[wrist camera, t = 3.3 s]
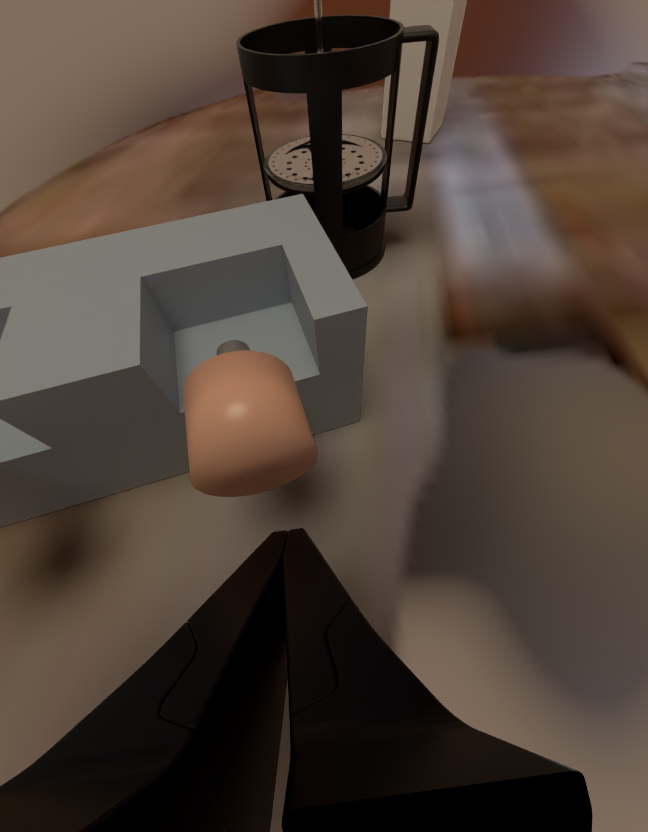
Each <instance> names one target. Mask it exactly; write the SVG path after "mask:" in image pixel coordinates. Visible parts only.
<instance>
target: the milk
mask: <svg viewBox="0 0 648 832" xmlns="http://www.w3.org/2000/svg"><path fill="white" fill-rule="evenodd" d="M466 2H467V0H391V6H390V19H394V20H396V21H399V22H400V23H402V24H403V26H404V27H409V26H419V25H430V26H432V27H433V28H434V29H435V30H436V31H437V32H438V33H439V45H438V52H437V58H436V64H435V70H434V76H433V82H432V89H431V95H430V101H429V107H428V113H427V119H426V125H425V132H424V138H423V143H427V144H428V143H430V141H431V140H432V138H433V137H434V136H435V134H436V133H437V131H438V130H439V129H440V127H441V126H442V124H443V119H444V114H445V109H446V104H447V99H448V94H449V89H450V84H451V79H452V73H453V68H454V63H455V58H456V52H457V48H458V43H459V38H460V32H461V28H462V23H463V17H464V13H465V8H466ZM425 46H426V41H422V42H411V43H403V44H402V55H401V65H400V75H399V85H398V95H397V105H396V115H395V125H394V135H393V140H400V141H409V142H412V139H413V132H414V125H415V118H416V111H417V103H418V96H419V89H420V82H421V75H422V68H423V61H424V53H425ZM390 80H391V75H390V76H388V77H386V78H385V88H384V101H383V115H382V129H381V138H382V139H386V128H387V116H388V104H389V92H390Z"/></svg>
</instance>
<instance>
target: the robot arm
mask: <svg viewBox="0 0 648 832" xmlns="http://www.w3.org/2000/svg"><path fill="white" fill-rule="evenodd" d="M287 678H288V694H289V716H290V766H289V773H288V780H287V788H286V795H285V802H284V809H283V816H282V830H283V832H592V807H591V803H590V798H589V795H588V790H587V786H586V782H585V778H584V776H583V774H582V773H581V772H579V771H577V770H574V769H572V768H569V767H567V766H564V765H562V764H560V763H557V762H555V761H552V760H550V759H547V758H545V757H542V756H540V755H538V754H535V753H532V752H530V751H528V750H525V749H522V748H520V747H518V746H515V745H513V744H510V743H508V742H506V741H503V740H501V739H498V738H496V737H493V736H491V735H488V734H486V733H484V732H481V731H479V730H476V729H474V728H472V727H470V726H468V725H467V724H465V723H464V722H462V721H461V720H460V719H458V718H457V717H456V716H454V715H453V714H452V713H451V712H450V711H448V709H446V708H445V707H444V706H443V705H442V704H441V703H440V702H439V701H438V700H437V699H436V697H435V696H434V695H433V694H432V693H431V692H430V691H429V690H428V689H427V688H426V687H425V686H424V685H423V683H422V682H421V681H420V680H419V679H418V678H417V677H416V676H415V675H414V674H413V673H412V671H411V670H410V669H409V668H408V667H407V666H406V665H405V664H404V663H403V662H402V661H401V660H400V658H399V657H398V656H397V655H396V654H395V653H394V652H393V651H392V650H391V649H390V648H389V646H388V645H387V644H386V643H385V642H384V641H383V640H382V638H381V637H380V636H379V635H378V634H377V633H376V631H375V630H374V629H373V628H372V627H371V625H370V624H369V623H368V621H367V620H366V618H365V617H364V616H363V614H362V613H361V612H360V610H359V609H358V607H357V606H356V604H355V603H354V601H353V600H352V599H351V597H350V596H349V594H348V593H347V591H346V590H345V588H344V587H343V585H342V584H341V582H340V581H339V580H338V578H337V577H336V575H335V574H334V572H333V571H332V569H331V568H330V566H329V565H328V563H327V562H326V560H325V559H324V557H323V556H322V554H321V553H320V551H319V550H318V548H317V547H316V546H315V544H314V543H313V541H312V540H311V538H310V537H309V535H308V534H307V532H306V531H305V529H303V528H299V529H291V530H289V532H288V531H286V530H284V531H277V532H273V533H271V534H270V535H269V536H268V537H267V538H266V540H265V541H264V542H263V543H262V544H261V545H260V546H259V547H258V548H257V549H256V550H255V551H254V552H253V553H252V554H251V555H250V556H249V557H248V558H247V559H246V560H245V561H244V562H243V563H242V564H241V565H240V567H239V568H238V569H237V570H236V571H235V572H234V573H233V574H232V575H231V576H230V577H229V578H228V579H227V580H226V581H225V582H224V583H223V584H222V585H221V586H220V587H219V588H218V589H217V590H216V591H215V592H214V594H213V595H212V596H211V597H210V598H209V599H208V600H207V601H206V602H205V603H204V604H203V605H202V606H201V607H200V608H199V609H198V610H197V611H196V612H195V613H194V614H193V615H192V616H191V617H190V618H189V619H188V623H184V624H183V626H182V627H181V628H180V629H179V630H178V631H177V632H176V633H175V634H174V635H173V636H172V637H171V638H170V639H169V640H168V641H167V642H166V643H165V644H164V645H163V646H162V647H161V648H160V649H159V650H158V651H157V652H156V653H155V654H154V655H153V656H152V657H151V658H150V659H149V660H148V661H147V662H145V663H144V664H143V665H142V666H141V667H140V668H139V669H138V670H137V671H136V672H135V673H134V674H133V675H131V676H130V677H129V678H128V679H127V680H126V681H125V682H124V683H123V684H122V685H121V686H120V687H118V688H117V689H116V690H115V691H114V692H113V693H112V694H111V695H110V696H108V697H107V698H106V699H105V700H104V701H103V702H102V703H101V704H100V705H98V706H97V707H96V708H95V709H94V710H93V711H92V712H91V713H90V714H88V715H87V716H86V717H85V718H84V719H83V720H82V721H81V722H80V723H78V724H77V725H76V726H75V727H74V728H73V729H72V730H71V731H70V732H68V733H67V734H66V735H65V736H64V737H63V738H62V739H61V740H60V741H58V742H57V743H56V744H55V745H54V746H53V747H52V748H51V749H50V750H48V751H47V752H46V753H45V754H44V755H43V756H41V757H40V758H39V759H38V760H37V761H35V762H34V763H33V764H32V765H30V766H29V767H28V768H26V769H25V770H24V771H22V772H21V773H20V774H18V775H17V776H15V777H14V778H12V779H11V780H9V781H8V782H6V783H5V784H3V785H1V786H0V832H270V827H271V818H272V809H273V800H274V792H275V783H276V774H277V766H278V757H279V748H280V739H281V731H282V722H283V713H284V705H285V696H286V687H287Z"/></svg>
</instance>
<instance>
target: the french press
mask: <svg viewBox="0 0 648 832" xmlns="http://www.w3.org/2000/svg"><path fill="white" fill-rule="evenodd" d="M314 7H315V17H311V18H302V19H296V20H290V21H285V22H280V23H275V24H272V25H267V26H264V27H261V28H258V29H255V30H252V31H250V32H248V33H246V34H244V35H242V36H241V37H239V39H238V40H237V49H238V54H239V60H240V65H241V70H242V75H243V80H244V86H245V91H246V96H247V101H248V107H249V112H250V117H251V122H252V127H253V133H254V138H255V143H256V148H257V153H258V159H259V164H260V169H261V174H262V179H263V185H264V190H265V195H266V200H267V201H271V200H272V197H271V191H270V186H269V180H270V181H271V182H272V183H273V184H274V185H275V186H276V187H278V188H280V189H282V190H284V191H285V192H284V193H282V194H281V195H279V196H278V197H277V198H276V199H280V198H285V197H290V196H294V195H299V194H303V195H304V197H305V198H306V200H307V202H308V204H309V205H310V207H311V209H312V211H313V212H314V214H315V216H316V218H317V219H318V221H319V223H320V224H321V226H322V228H323V230H324V231H325V233H326V235H327V237H328V238H329V240H330V242H331V244H332V245H333V247H334V249H335V250H336V252H337V254H338V256H339V257H340V259H341V261H342V263H343V264H344V266H345V268H346V270H347V271H348V273H349V275H350V276H351V278H352V279H353V278H356V277H358V276H360V275H363V274H365V273H366V272H368V271H370V270H371V269H373V268H374V267H375V266H376V265H377V264H378V263H379V262H380V260H381V258H382V257H383V254H384V251H385V238H384V226H385V216H386V212H397V211H407V210H410V209H411V208H412V205H413V199H414V193H415V187H416V181H417V175H418V169H419V162H420V156H421V150H422V144H423V138H424V132H425V125H426V119H427V113H428V107H429V101H430V95H431V89H432V82H433V76H434V70H435V64H436V58H437V52H438V45H439V33H438V32H437V31H436V30H435V29H434V28H433V27H432V26H430V25H419V26H409V27H404V26H403V24H402V23H400V22H399V21H396V20H394V19H390V18H385V17H379V16H369V15H335V16H322V8H321V7H322V5H321V0H314ZM422 41H426V46H425V53H424V61H423V68H422V75H421V82H420V89H419V96H418V103H417V111H416V118H415V125H414V132H413V139H412V146H411V154H410V161H409V168H408V175H407V182H406V189H405V193H404V195H402V196H394V197H387V196H388V186H389V176H390V166H391V155H392V145H393V135H394V125H395V115H396V105H397V95H398V85H399V75H400V65H401V55H402V44H403V43H411V42H422ZM332 48H351V49H346V50H340V51H333V52H332ZM301 51H305V54H290V53H295V52H301ZM390 75H391V80H390V92H389V104H388V116H387V128H386V140H385V149H384V148H383V147H382V146H381V145H380V144H378V143H377V142H375V141H373V140H370V139H367V138H364V137H360V136H355V135H347V134H342V90H344V89H349V88H355V87H359V86H363V85H366V84H370V83H373V82H376V81H379V80H381V79H384V78H386V77H388V76H390ZM252 87H255V88H258V89H261V90H266V91H271V92H280V93H307V104H308V117H309V131H310V136H309V137H304V138H300V139H297V140H293V141H290V142H288V143H286V144H283V145H281V146H280V147H278V148H276V149H275V150H273V151H272V152H271V153H270V154H269V155H268V156H267V158H266V159H265V158H264V152H263V147H262V141H261V135H260V130H259V124H258V119H257V113H256V107H255V102H254V96H253V91H252ZM382 172H383V176H382V188H381V194H380V192H379V191H377V190H376V189H374V188H372V187H370V186H368V184H370V183H372V182H373V181H374V180H376V179H377V178H378V177H379V176H380V175H381V174H382ZM268 178H269V180H268ZM276 199H275V200H276ZM343 224H345V225H350V226H353V227H356V228H357V229H359V230H360V231H358V232H355V233H352V234H348V235H344V236H343Z"/></svg>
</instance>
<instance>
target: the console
mask: <svg viewBox="0 0 648 832" xmlns="http://www.w3.org/2000/svg"><path fill="white" fill-rule="evenodd" d="M367 308H368V306H367V304H366V302H365V301H364V299H363V297H362V296H361V294H360V292H359V290H358V289H357V287H356V285H355V283H354V282H353V280H352V278H351V276H350V275H349V273H348V271H347V270H346V268H345V266H344V264H343V263H342V261H341V259H340V257H339V256H338V254H337V252H336V250H335V249H334V247H333V245H332V244H331V242H330V240H329V238H328V237H327V235H326V233H325V231H324V230H323V228H322V226H321V224H320V223H319V221H318V219H317V218H316V216H315V214H314V212H313V211H312V209H311V207H310V205H309V204H308V202H307V200H306V198H305V197H304V195H303V194H299V195H294V196H290V197H285V198H280V199H276V200H271V201H266V202H261V203H257V204H252V205H247V206H243V207H238V208H233V209H228V210H224V211H219V212H214V213H210V214H205V215H200V216H195V217H191V218H186V219H181V220H176V221H172V222H167V223H162V224H158V225H153V226H148V227H143V228H139V229H134V230H129V231H125V232H120V233H115V234H110V235H106V236H101V237H96V238H92V239H87V240H82V241H77V242H73V243H68V244H63V245H59V246H54V247H49V248H44V249H40V250H35V251H30V252H26V253H21V254H16V255H11V256H7V257H2V258H0V527H3V526H7V525H10V524H14V523H17V522H20V521H24V520H27V519H30V518H34V517H37V516H41V515H44V514H47V513H51V512H54V511H57V510H61V509H64V508H68V507H71V506H74V505H78V504H81V503H84V502H88V501H91V500H95V499H98V498H101V497H105V496H108V495H111V494H115V493H118V492H122V491H125V490H128V489H132V488H135V487H138V486H142V485H145V484H149V483H152V482H155V481H159V480H162V479H166V478H169V477H172V476H176V475H179V474H182V473H186V472H189V471H190V469H189V457H188V445H187V433H186V421H185V409H184V397H183V386H184V383H185V380H186V379H187V377H188V375H189V374H190V373H191V371H193V370H194V369H195V368H196V367H197V366H198V365H200V364H201V363H202V362H204V361H206V360H208V359H210V358H212V357H214V356H217V354H216V352H217V349H218V347H219V346H220V345H221V344H222V343H224V342H226V341H230V340H239V341H242V342H244V343H246V344H247V345H248V346H249V348H250V351H259V352H264V353H267V354H271V355H273V356H275V357H277V358H279V359H280V360H282V361H283V362H284V363H286V364H287V366H288V367H289V368H290V370H291V372H292V375H293V378H294V381H295V384H296V387H297V390H298V393H299V396H300V399H301V402H302V405H303V408H304V411H305V415H306V418H307V421H308V424H309V427H310V430H311V433H312V435H314V434H318V433H321V432H324V431H328V430H331V429H334V428H338V427H341V426H345V425H348V424H351V423H355V422H358V421H360V408H361V394H362V380H363V365H364V351H365V337H366V323H367Z"/></svg>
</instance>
